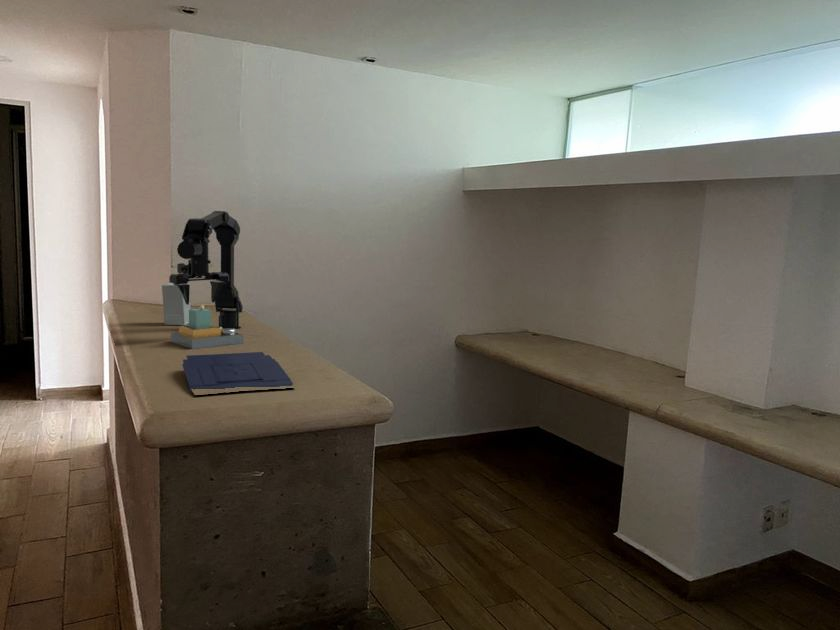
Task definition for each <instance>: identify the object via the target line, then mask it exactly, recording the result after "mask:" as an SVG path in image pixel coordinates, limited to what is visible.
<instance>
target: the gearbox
mask: <svg viewBox="0 0 840 630" xmlns="http://www.w3.org/2000/svg"><path fill="white" fill-rule="evenodd" d="M178 327H179V328H178V332H176V331H175V332H170V343H173V344H175V345H179V346H182V347H185V348H188V349H189V350H190V349H191V350H195V349H206V348H213V347H214V348H215V347H222V346H231V345H241V344H244V334H243V333H241V332H236V331H237V330H236V329H237V328H235V329H234V328H222V327H220V326H219V325H217V326H216V325H212V324H211V328H206V329H195V330H194V329H190V328H189V324H187V325H178Z"/></svg>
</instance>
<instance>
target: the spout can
mask: <svg viewBox="0 0 840 630" xmlns="http://www.w3.org/2000/svg"><path fill="white" fill-rule="evenodd" d="M211 314H212V311H211V310H210V309H206V308H205V305H201V304H200V305H199V308H191V309H189V324H188V325H189V328H190V329H194V330H195V329H206V328H211V325H212V316H211Z"/></svg>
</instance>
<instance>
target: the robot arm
mask: <svg viewBox="0 0 840 630" xmlns="http://www.w3.org/2000/svg"><path fill="white" fill-rule="evenodd" d="M213 232H214V234H215V238H216V240H217V242H218V244H219V245H220V271H211V272H209V271H210V270H209V268H210V267H209V265H210V264H211V260H210V259H209V243H210V242H211V240H210V239H209V238H210V236H211V234H213ZM240 233H241V227H240V224H239V222H238V221H237V220H236V219H234V218H233V217H232V216H230V215H229V213H228V211H225V210H214V211H212V212H211V213H209V214H207V215H205V216H203V217H199V218H195V217H193V218H189V219H188V220H187V221H186V223H185V226H184V229H183V232H182V236H181V240H182V241H181V242H180V243H179V244H178V245H177V248H176V249H177V250H176V251H177V254H178V256H179V257H180V258H182V259H184V260H187V264H185V262H184V263H183V262H180V263H177V265H176V267H177V268H176V270H177V273H171V274H170V275H169V278H168V279H169V281H168V283H173V284H174V285H176V286H178V288H179V289H180V291H181V293H182V295H183V298H184V300H185V303H186V304H187V305H188V304H189V292H190V291H191V290H190V287H191V285H190V284H187V283H189V282H195V281H198V282H199V281H209V283H210V285H211V288H210V289H211V290H210V291H211V292H210V294H211V295H210V296H211V297H210V298H211V299H210V300H211V303H214V307H215V312H216V313H219V316H218V326H220V327H222V328H234V329H241V328H242V327H241V325H240V323H239V322H240V316H239V315H240V313H243V304H242V301H241V298H240V297H239V295H240V294H239V291H238V289H237V288H236V285H235V246H236V244H237V243H238V241H239V239H240V238H239V237H240Z"/></svg>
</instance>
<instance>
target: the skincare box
mask: <svg viewBox="0 0 840 630" xmlns="http://www.w3.org/2000/svg"><path fill="white" fill-rule="evenodd" d="M187 284H189V282H188V283H187ZM189 285H190V284H189ZM161 292H162V293H161V294H162V306H163V320H164V322H163V323H164V325H165V326H187V325H189V309H192V308H191V296H190V294H191V292H190V291H189V304H188V305H187V304H186V303H185V300H184V298H183V295H182V293H181V291H180V289H179V288H178V286H176V285H174V284H173V283H170V282H168V283H164V284H162V285H161Z"/></svg>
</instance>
